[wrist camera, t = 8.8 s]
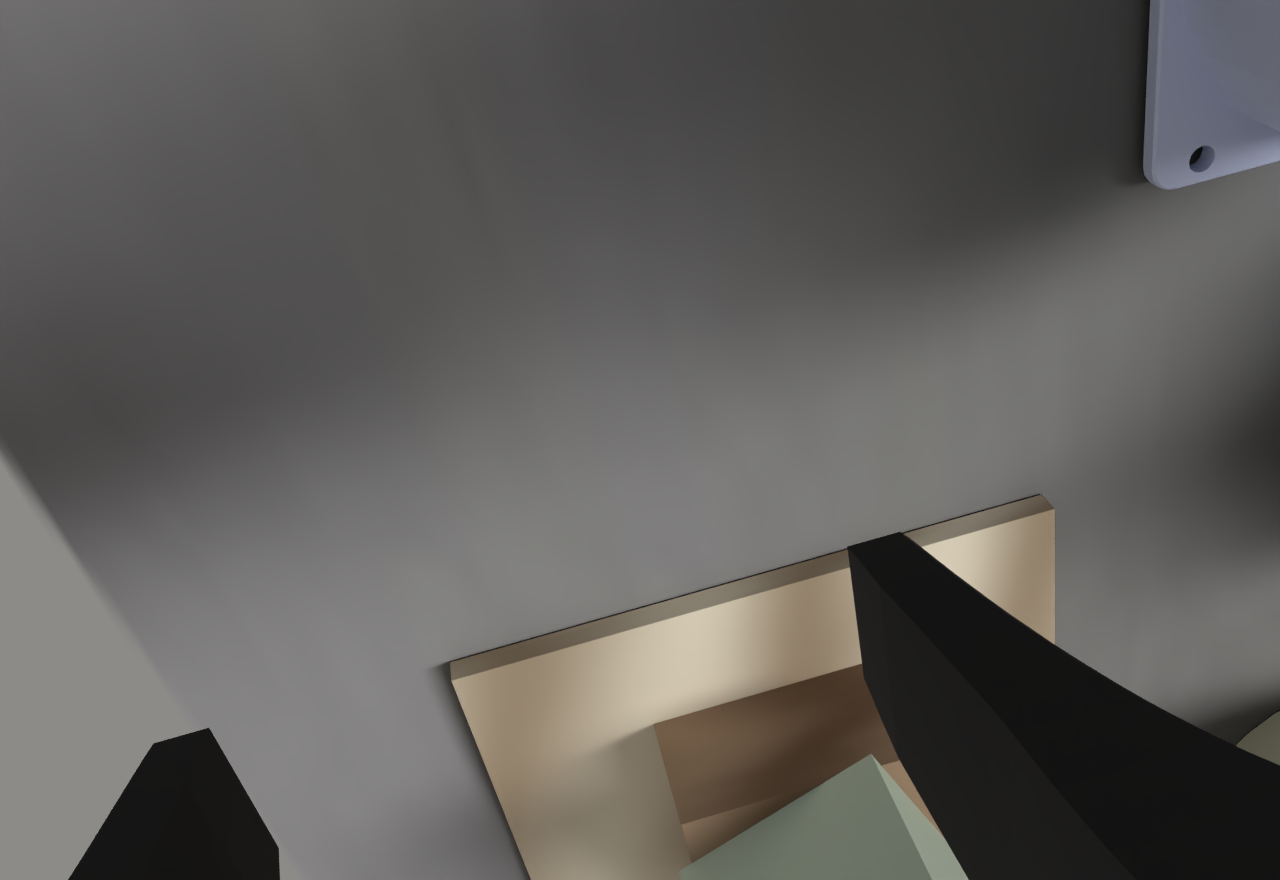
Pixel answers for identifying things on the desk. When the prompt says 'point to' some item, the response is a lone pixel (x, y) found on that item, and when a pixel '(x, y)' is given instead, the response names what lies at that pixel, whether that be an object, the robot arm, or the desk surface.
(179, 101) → the desk surface
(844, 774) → the sage cube
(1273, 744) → the reusable coffee cup
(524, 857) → the baseplate
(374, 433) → the desk surface
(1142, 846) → the robot arm
